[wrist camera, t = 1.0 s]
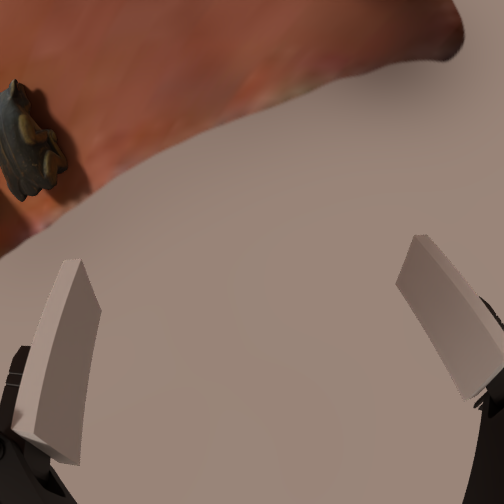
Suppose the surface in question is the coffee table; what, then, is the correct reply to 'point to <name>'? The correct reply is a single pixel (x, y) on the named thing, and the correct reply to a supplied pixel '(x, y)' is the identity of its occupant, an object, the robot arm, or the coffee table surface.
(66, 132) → the coffee table surface
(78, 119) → the coffee table surface
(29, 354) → the robot arm
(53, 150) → the sculpture
